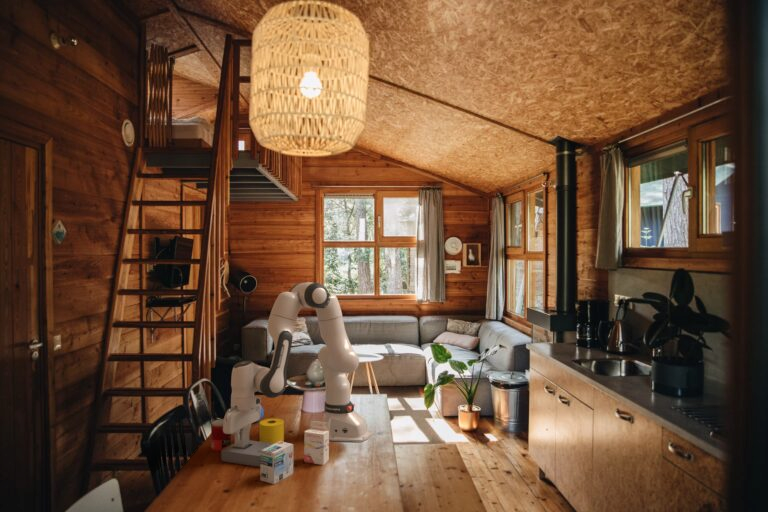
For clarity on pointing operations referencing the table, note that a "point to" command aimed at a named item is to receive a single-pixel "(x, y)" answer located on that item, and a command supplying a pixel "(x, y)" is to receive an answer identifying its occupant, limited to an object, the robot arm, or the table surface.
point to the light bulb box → (276, 462)
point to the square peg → (243, 438)
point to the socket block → (245, 453)
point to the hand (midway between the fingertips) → (242, 438)
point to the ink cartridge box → (316, 443)
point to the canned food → (219, 436)
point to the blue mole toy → (261, 414)
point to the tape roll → (272, 430)
